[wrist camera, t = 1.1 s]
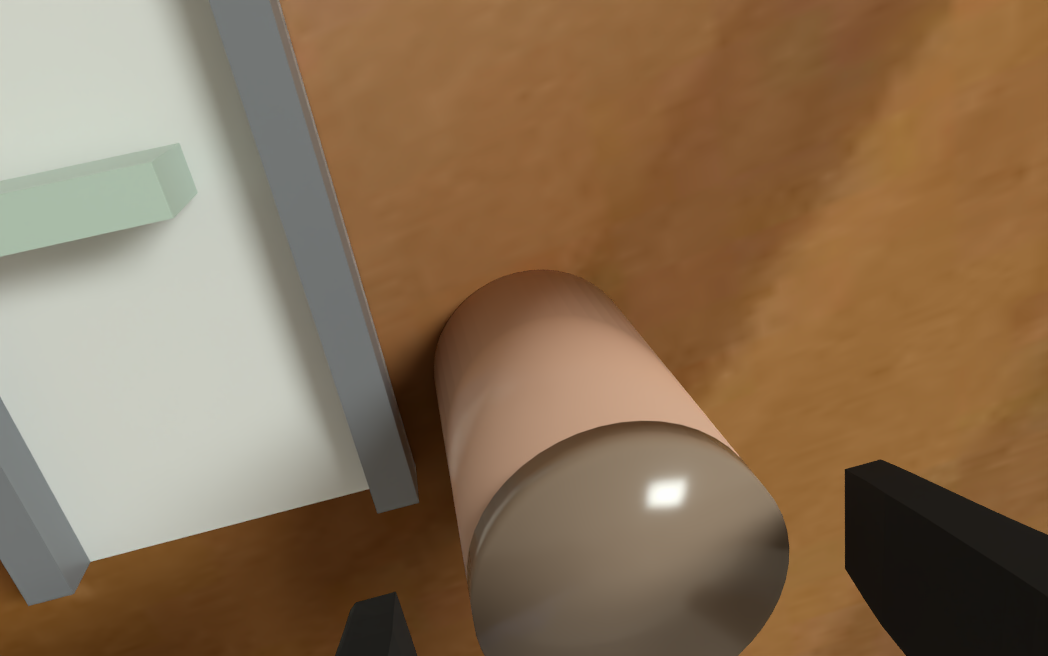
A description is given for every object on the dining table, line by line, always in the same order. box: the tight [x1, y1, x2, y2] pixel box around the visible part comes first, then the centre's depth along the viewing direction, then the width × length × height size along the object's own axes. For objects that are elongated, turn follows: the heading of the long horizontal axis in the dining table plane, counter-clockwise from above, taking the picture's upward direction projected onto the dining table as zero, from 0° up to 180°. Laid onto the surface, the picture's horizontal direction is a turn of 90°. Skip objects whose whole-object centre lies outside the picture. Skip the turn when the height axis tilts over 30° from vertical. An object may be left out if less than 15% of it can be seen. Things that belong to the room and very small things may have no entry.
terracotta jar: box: [434, 270, 789, 656], centre depth 15 cm, size 5×5×8 cm
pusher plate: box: [0, 143, 198, 257], centre depth 14 cm, size 4×1×2 cm, turn 100°
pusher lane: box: [0, 0, 419, 606], centre depth 13 cm, size 9×20×4 cm, turn 10°
